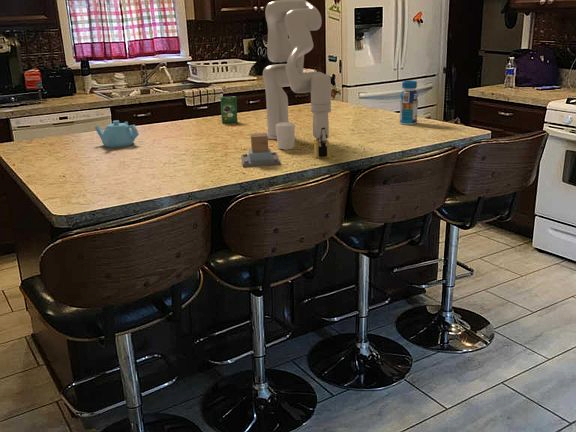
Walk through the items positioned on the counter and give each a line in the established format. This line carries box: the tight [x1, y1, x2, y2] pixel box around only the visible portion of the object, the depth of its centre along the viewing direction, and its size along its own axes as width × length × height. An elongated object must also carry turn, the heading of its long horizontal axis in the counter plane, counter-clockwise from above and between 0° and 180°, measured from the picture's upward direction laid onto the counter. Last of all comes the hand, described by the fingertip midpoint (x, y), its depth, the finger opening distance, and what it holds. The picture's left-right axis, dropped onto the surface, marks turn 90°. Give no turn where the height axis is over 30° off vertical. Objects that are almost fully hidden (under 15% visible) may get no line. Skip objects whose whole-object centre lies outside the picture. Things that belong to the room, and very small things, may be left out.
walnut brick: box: [250, 132, 269, 153], centre depth 229 cm, size 6×6×6 cm
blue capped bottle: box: [399, 79, 419, 126], centre depth 288 cm, size 8×8×20 cm
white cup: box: [276, 122, 296, 151], centre depth 250 cm, size 8×8×10 cm
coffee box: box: [220, 95, 238, 124], centre depth 309 cm, size 8×3×13 cm, turn 103°
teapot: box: [94, 120, 139, 149], centre depth 267 cm, size 15×15×11 cm
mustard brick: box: [313, 138, 330, 159], centre depth 234 cm, size 5×5×6 cm
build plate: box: [240, 147, 281, 168], centre depth 231 cm, size 14×14×4 cm
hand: (321, 154), depth 235 cm, fingers closed on mustard brick, 5 cm apart
